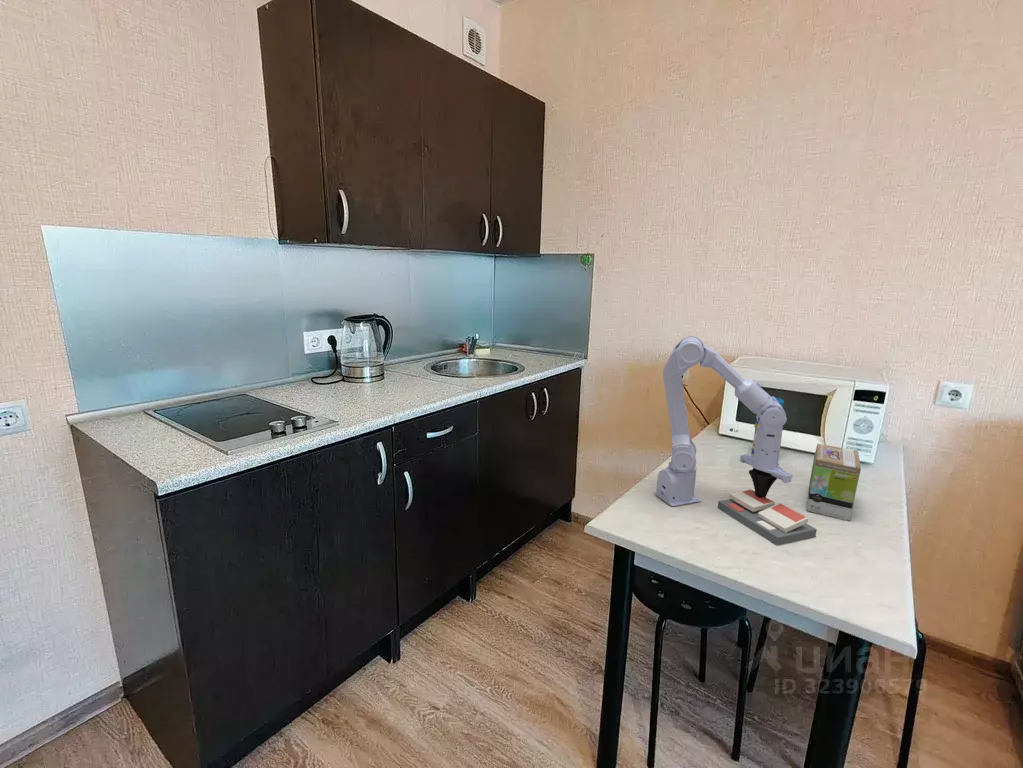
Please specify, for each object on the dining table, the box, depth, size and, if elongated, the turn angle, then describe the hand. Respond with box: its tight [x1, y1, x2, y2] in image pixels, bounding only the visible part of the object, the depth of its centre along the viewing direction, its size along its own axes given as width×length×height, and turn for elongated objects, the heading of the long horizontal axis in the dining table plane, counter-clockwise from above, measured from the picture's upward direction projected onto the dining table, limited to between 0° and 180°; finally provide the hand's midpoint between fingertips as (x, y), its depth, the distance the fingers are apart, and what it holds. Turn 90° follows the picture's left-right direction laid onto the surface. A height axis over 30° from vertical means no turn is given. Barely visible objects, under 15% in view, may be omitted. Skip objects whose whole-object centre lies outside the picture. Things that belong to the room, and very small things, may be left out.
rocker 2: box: [758, 502, 809, 533], centre depth 120 cm, size 7×8×1 cm
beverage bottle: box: [750, 397, 785, 457], centre depth 166 cm, size 8×8×20 cm
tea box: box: [806, 443, 862, 522], centre depth 133 cm, size 15×10×15 cm
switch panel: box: [717, 498, 818, 546], centre depth 125 cm, size 12×19×3 cm, turn 20°
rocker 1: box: [728, 489, 776, 512], centre depth 129 cm, size 7×8×1 cm
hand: (760, 497), depth 130 cm, fingers closed, pressing on rocker 1
